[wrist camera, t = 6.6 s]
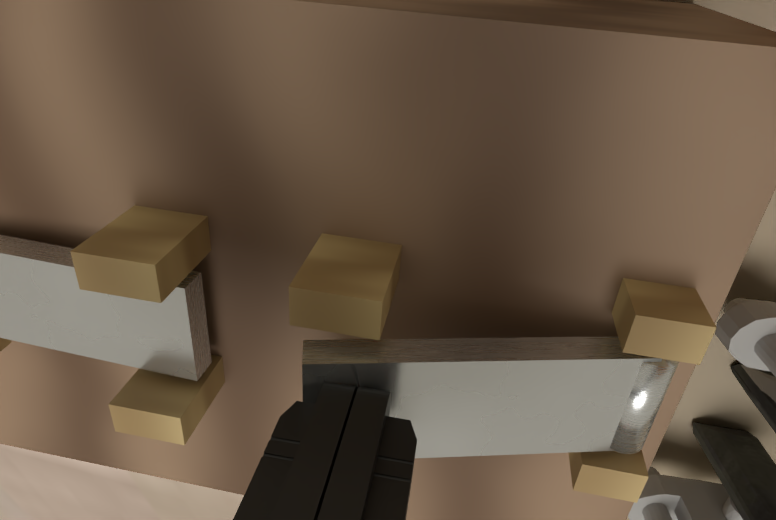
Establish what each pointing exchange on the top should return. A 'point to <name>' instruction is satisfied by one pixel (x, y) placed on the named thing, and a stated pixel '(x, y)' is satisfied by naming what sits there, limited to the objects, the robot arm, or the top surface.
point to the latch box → (377, 207)
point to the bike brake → (729, 435)
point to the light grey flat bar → (99, 314)
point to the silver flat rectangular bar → (502, 391)
